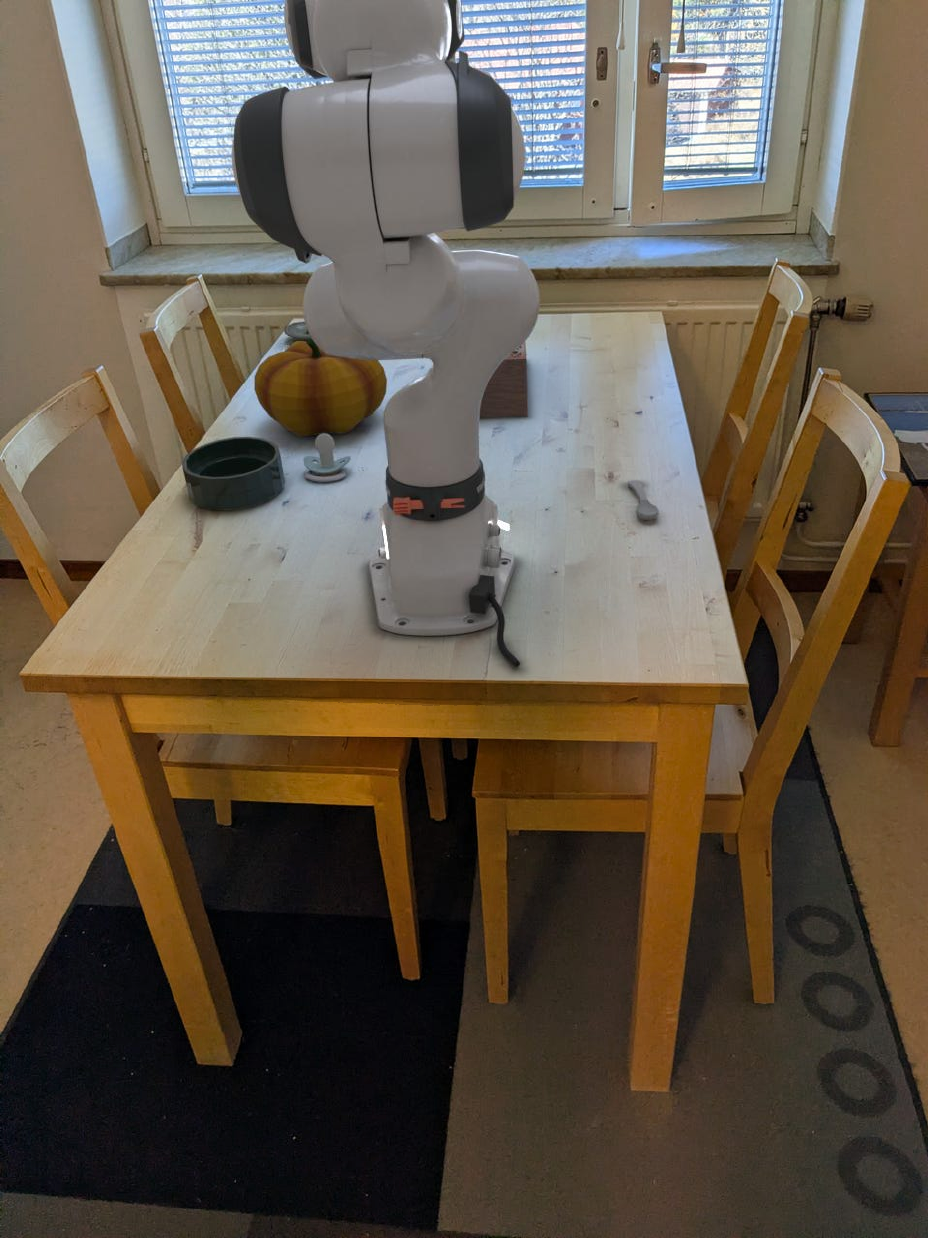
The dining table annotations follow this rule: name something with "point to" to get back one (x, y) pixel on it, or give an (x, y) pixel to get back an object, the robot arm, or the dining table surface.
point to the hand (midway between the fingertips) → (429, 207)
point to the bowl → (233, 473)
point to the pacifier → (325, 461)
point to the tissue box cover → (507, 388)
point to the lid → (298, 331)
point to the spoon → (643, 502)
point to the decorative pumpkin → (318, 389)
